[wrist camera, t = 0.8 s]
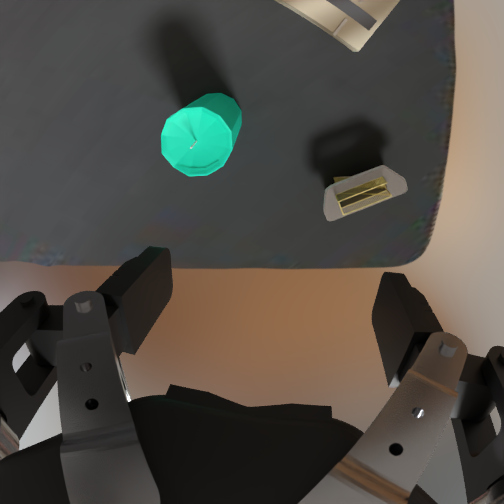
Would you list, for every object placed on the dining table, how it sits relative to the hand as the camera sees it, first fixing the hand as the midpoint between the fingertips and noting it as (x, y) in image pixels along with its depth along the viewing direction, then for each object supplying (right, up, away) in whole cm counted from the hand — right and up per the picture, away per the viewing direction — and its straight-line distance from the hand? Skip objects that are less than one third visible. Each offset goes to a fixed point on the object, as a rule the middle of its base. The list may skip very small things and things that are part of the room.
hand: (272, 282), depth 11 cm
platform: (+11, +11, +24) cm, 29 cm away
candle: (-5, +16, +20) cm, 26 cm away
